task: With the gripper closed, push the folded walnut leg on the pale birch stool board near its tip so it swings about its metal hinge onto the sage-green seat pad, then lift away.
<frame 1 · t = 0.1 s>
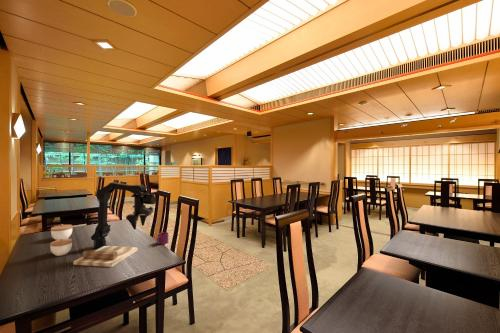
hand: (139, 227, 151), 15 cm above the table, fingers open, 9 cm apart
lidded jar: (61, 254, 143), on the table
lidded bowl: (61, 239, 170), on the table
mug: (161, 243, 162), on the table
stool board: (107, 256, 139), on the table
stool leg: (99, 255, 132), point 4 cm above the table, hinge at 0.0°
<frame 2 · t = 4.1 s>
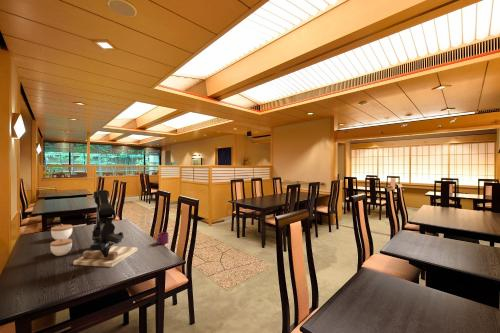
hand: (105, 257, 129), 4 cm above the table, fingers closed
stool leg: (99, 254, 132), point 4 cm above the table, hinge at 1.0°, touching gripper
everything else where it was.
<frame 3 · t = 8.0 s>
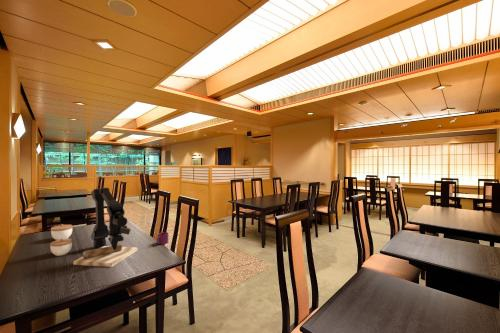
hand: (114, 249, 139), 4 cm above the table, fingers closed
stool leg: (103, 250, 138), point 4 cm above the table, hinge at 46.4°, touching gripper
everything else where it was.
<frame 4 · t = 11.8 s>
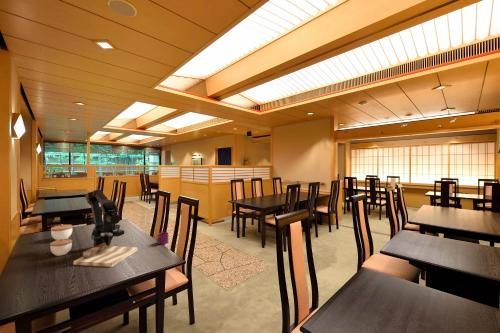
hand: (108, 245, 146), 4 cm above the table, fingers closed
stool leg: (97, 249, 140), point 4 cm above the table, hinge at 89.2°
everything else where it was.
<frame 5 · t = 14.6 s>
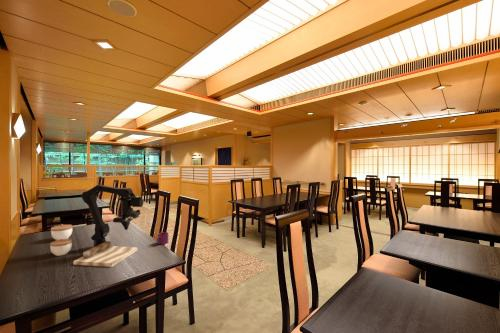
hand: (126, 229, 154), 12 cm above the table, fingers closed
nothing on the table moved.
at the end: stool leg at +89° (first picture: +0°) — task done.
